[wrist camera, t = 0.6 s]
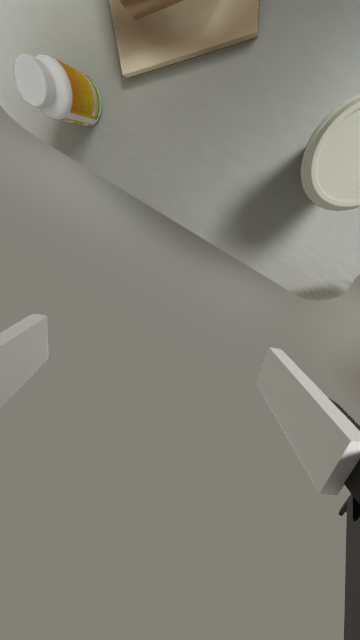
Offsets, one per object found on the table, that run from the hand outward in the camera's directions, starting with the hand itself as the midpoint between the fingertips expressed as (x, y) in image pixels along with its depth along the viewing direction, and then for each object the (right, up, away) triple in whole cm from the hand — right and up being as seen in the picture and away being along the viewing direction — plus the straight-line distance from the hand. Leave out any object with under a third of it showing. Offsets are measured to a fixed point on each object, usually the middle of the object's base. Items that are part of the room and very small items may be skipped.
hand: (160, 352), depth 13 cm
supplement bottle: (-12, +33, +18) cm, 40 cm away
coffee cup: (+20, +22, +14) cm, 33 cm away
